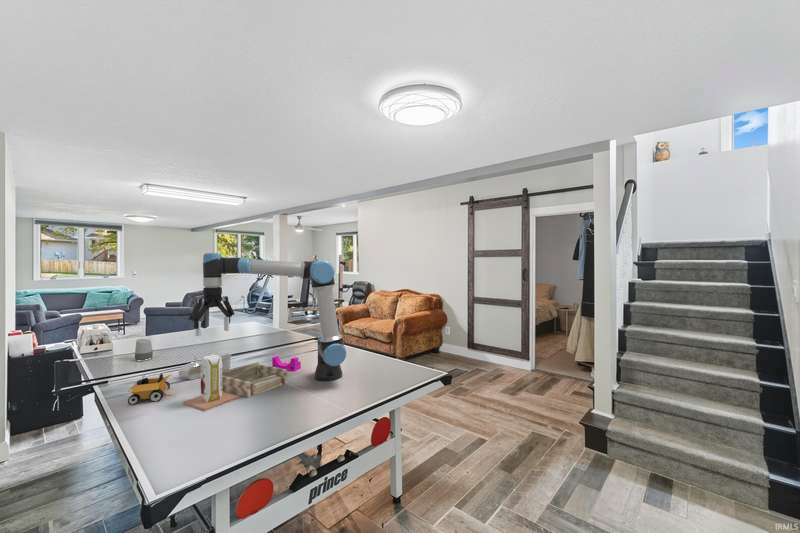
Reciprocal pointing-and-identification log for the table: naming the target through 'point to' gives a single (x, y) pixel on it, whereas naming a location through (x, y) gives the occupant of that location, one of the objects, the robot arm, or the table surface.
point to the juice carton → (211, 378)
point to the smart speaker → (143, 349)
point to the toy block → (286, 364)
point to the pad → (204, 406)
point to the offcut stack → (265, 384)
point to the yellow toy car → (149, 389)
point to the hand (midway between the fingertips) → (213, 333)
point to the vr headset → (191, 370)
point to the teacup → (225, 362)
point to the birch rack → (248, 377)
